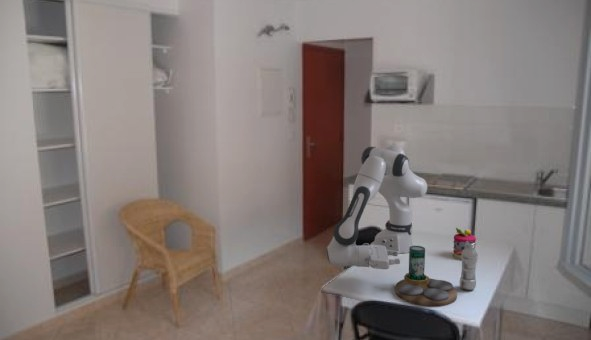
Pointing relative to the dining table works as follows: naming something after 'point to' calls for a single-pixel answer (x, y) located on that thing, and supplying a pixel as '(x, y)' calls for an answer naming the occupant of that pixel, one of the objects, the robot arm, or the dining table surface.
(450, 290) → the wooden stone platter
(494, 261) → the dining table surface
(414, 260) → the can
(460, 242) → the cake
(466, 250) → the plastic bottle
